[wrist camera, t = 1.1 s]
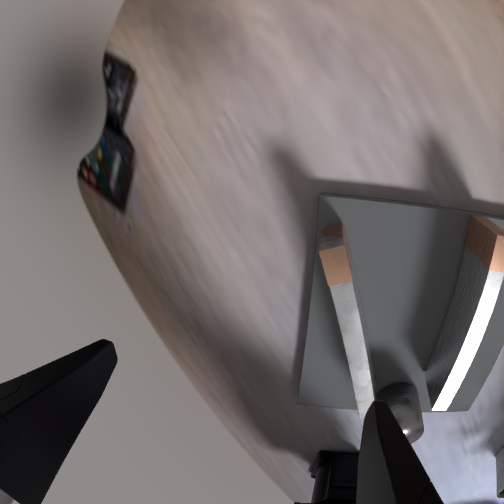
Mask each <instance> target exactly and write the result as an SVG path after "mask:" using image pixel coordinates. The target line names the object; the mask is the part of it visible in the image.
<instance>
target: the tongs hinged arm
mask: <svg viewBox="0 0 504 504" xmlns="http://www.w3.org/2000/svg"><path fill="white" fill-rule="evenodd" d="M319 254H320V257H321V261H322V265H323V268H324V272H325V275H326V279H327V283H328V286H330V290H331V294H332V297H333V301H334V305H335V309H336V313H337V317H338V321H339V325H340V329H341V333H342V337H343V342H344V346H345V350H346V355H347V359H348V363H349V368H350V373H351V377H352V382H353V387H354V391H355V396H356V401H357V406H358V411H359V416H360V422H361V426H363V423H364V418H365V415H366V413H367V411H368V409H369V407H370V405H371V403H372V402H373V401H374V400H380V401H385V402H386V403H387V404H388V406H389V407H390V409H391V411H392V413H393V414H394V416H395V418H396V419H397V421H398V423H399V425H400V426H401V428H402V430H403V432H404V433H405V435H406V437H407V439H408V440H409V442H410V444H412V443H413V442H415V441H416V440H418V439H419V438H420V437H421V436H422V434H423V432H424V425H423V418H422V412H421V406H420V400H419V395H418V391H417V389H416V387H414V386H413V385H411V384H409V383H394V384H390V385H388V386H385V387H384V388H382V389H381V390H379V391H378V392H377V394H376V385H375V378H374V371H373V365H372V359H371V353H370V347H369V341H368V336H367V330H366V325H365V320H364V315H363V310H362V305H361V300H360V296H359V291H358V286H357V282H356V278H355V273H354V269H353V265H352V260H351V254H350V249H349V245H348V241H347V237H346V233H345V229H344V225H343V223H339V224H335V225H331V226H327V227H323V228H322V235H321V241H320V247H319Z"/></svg>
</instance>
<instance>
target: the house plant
mask: <svg viewBox="0 0 504 504" xmlns="http://www.w3.org/2000/svg"><path fill="white" fill-rule="evenodd" d="M496 470H497V497H498V498H504V447H503V448H502V449H501V450H500V451H499V452H498V453H497V455H496Z"/></svg>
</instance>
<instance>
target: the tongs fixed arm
mask: <svg viewBox="0 0 504 504" xmlns="http://www.w3.org/2000/svg"><path fill="white" fill-rule="evenodd" d="M503 277H504V230H503V229H502V228H501V227H499V226H498V225H496V224H495V223H493V222H492V221H491V220H489V219H488V218H486V217H480V216H474V215H470V219H469V225H468V230H467V235H466V240H465V249H464V253H463V258H462V262H461V266H460V270H459V274H458V278H457V281H456V285H455V289H454V292H453V295H452V299H451V302H450V305H449V309H448V312H447V315H446V318H445V321H444V324H443V327H442V330H441V332H440V335H439V338H438V341H437V343H436V346H435V349H434V351H433V354H432V356H431V359H430V361H429V364H428V366H427V369H426V371H425V373H424V376H425V381H426V385H427V390H428V394H429V399H430V404H431V409H432V410H446V409H447V407H448V406H449V404H450V402H451V400H452V399H453V397H454V395H455V393H456V391H457V389H458V387H459V386H460V384H461V382H462V380H463V378H464V376H465V374H466V372H467V370H468V368H469V366H470V363H471V361H472V359H473V357H474V355H475V353H476V350H477V348H478V346H479V343H480V341H481V339H482V336H483V334H484V331H485V329H486V326H487V324H488V321H489V319H490V316H491V313H492V311H493V308H494V305H495V302H496V299H497V296H498V293H499V290H500V287H501V284H502V281H503Z"/></svg>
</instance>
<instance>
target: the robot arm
mask: <svg viewBox="0 0 504 504" xmlns="http://www.w3.org/2000/svg"><path fill="white" fill-rule="evenodd" d="M116 364H117V355H116V351H115V347H114V344H113V343H112V342H111V341H108V340H106V339H101V340H99V341H96V342H94V343H92V344H90V345H88V346H85V347H83V348H81V349H79V350H77V351H75V352H72V353H70V354H68V355H66V356H64V357H61V358H59V359H57V360H55V361H52V362H50V363H48V364H46V365H44V366H41V367H39V368H37V369H35V370H32V371H30V372H28V373H26V375H25V374H23V375H21V376H19V377H17V378H14V379H12V380H9V381H7V382H4V383H1V384H0V504H12V502H13V501H14V500H16V501H17V502H18V503H20V504H41V503H42V501H43V499H44V497H45V495H46V493H47V491H48V490H49V488H50V485H51V484H52V482H53V480H54V478H55V475H56V474H57V473H58V470H59V469H60V467H61V465H62V463H63V462H64V460H65V458H66V456H67V454H68V453H69V451H70V449H71V447H72V445H73V444H74V442H75V440H76V438H77V437H78V435H79V433H80V431H81V430H82V428H83V426H84V425H85V423H86V421H87V419H88V418H89V416H90V415H91V413H92V411H93V409H94V408H95V406H96V404H97V403H98V401H99V399H100V398H101V396H102V394H103V392H104V390H105V388H106V385H107V383H108V381H109V379H110V377H111V374H112V372H113V370H114V368H115V366H116ZM311 478H314V479H315V485H314V490H313V495H312V500H311V503H300V502H295V503H294V504H444V503H443V501H442V500H441V498H440V496H439V494H438V493H437V491H436V489H435V487H434V485H433V484H432V482H430V478H429V476H428V475H427V473H426V471H425V469H424V467H423V466H422V464H421V462H420V460H419V458H418V456H417V455H416V453H415V451H414V449H413V448H412V446H411V444H410V442H409V440H408V439H407V437H406V435H405V433H404V432H403V430H402V428H401V426H400V425H399V423H398V421H397V419H396V418H395V416H394V414H393V413H392V411H391V409H390V407H389V406H388V404H387V403H386V402H385V401H380V400H374V401H373V402H372V403H371V405H370V407H369V409H368V411H367V413H366V415H365V418H364V423H363V431H362V439H361V446H360V453H359V454H353V453H339V452H328V451H320V452H319V453H318V455H317V459H316V462H315V464H314V467H313V470H312V473H311Z"/></svg>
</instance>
